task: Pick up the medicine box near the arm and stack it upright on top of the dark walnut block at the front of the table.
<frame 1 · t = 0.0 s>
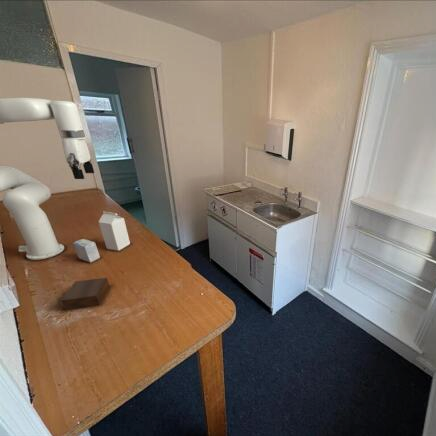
hand: (85, 175, 101), 37 cm above the table, tool pointing down, fingers open, 9 cm apart
walnut block: (88, 297, 87), on the table
milk carton: (118, 246, 118), on the table
medicine box: (89, 258, 108), on the table
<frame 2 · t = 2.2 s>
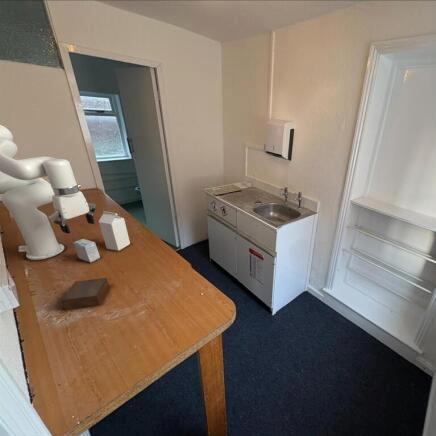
hand: (79, 227, 101), 16 cm above the table, tool pointing down, fingers open, 9 cm apart
nothing on the table moved.
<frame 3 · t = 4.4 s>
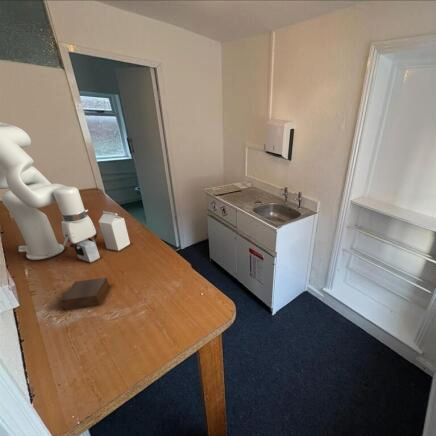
hand: (87, 251, 106), 4 cm above the table, tool pointing down, fingers closed on medicine box, 4 cm apart
medicine box: (89, 258, 108), on the table, touching gripper
everything else where it was.
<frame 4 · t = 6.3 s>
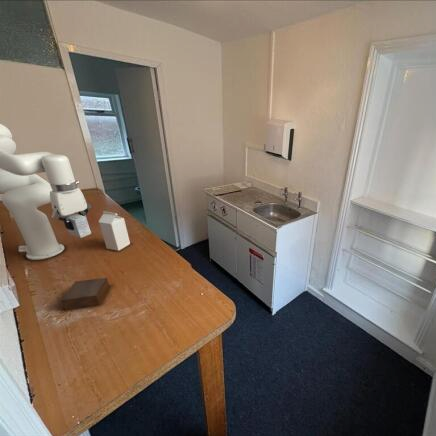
hand: (77, 226, 101), 17 cm above the table, tool pointing down, fingers closed on medicine box, 4 cm apart
medicine box: (80, 234, 102), point 13 cm above the table, touching gripper
everything else where it was.
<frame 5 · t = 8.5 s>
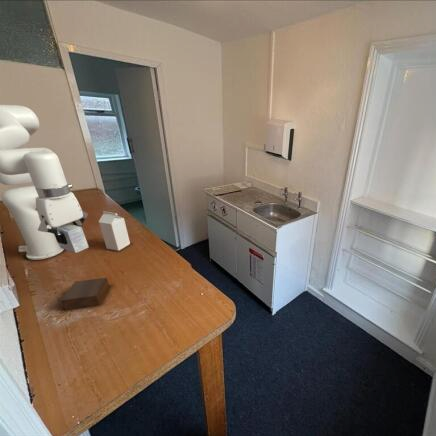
hand: (71, 239, 83), 22 cm above the table, tool pointing down, fingers closed on medicine box, 4 cm apart
medicine box: (75, 248, 84), point 18 cm above the table, touching gripper
everything else where it was.
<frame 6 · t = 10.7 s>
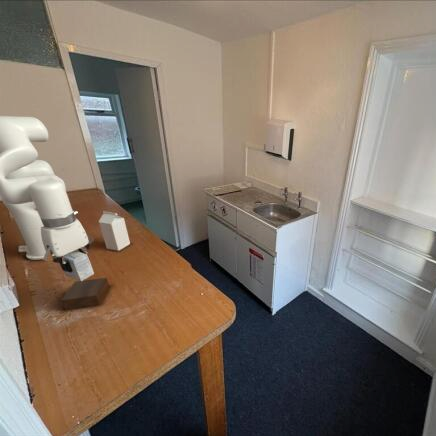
hand: (77, 266, 81), 14 cm above the table, tool pointing down, fingers closed on medicine box, 4 cm apart
medicine box: (80, 275, 82), point 10 cm above the table, touching gripper
everything else where it was.
when the fingers open (8 cm above the table, at t = 12.5 s): medicine box stays where it is, resting on walnut block.
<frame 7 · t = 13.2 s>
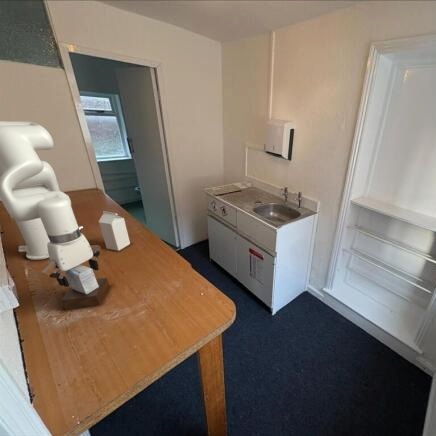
hand: (81, 277, 83), 10 cm above the table, tool pointing down, fingers open, 9 cm apart
medicine box: (85, 288, 85), point 4 cm above the table, touching walnut block
everything else where it was.
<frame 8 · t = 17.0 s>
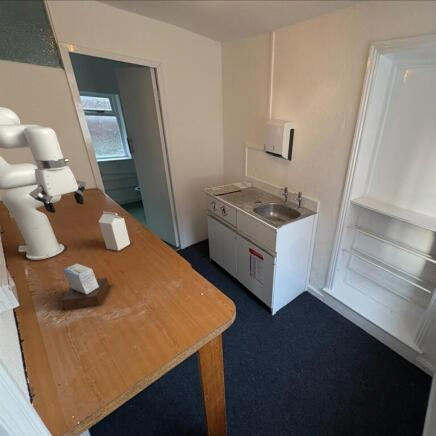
hand: (66, 207, 90), 28 cm above the table, tool pointing down, fingers open, 9 cm apart
nothing on the table moved.
at the end: medicine box 0.0 cm off-centre on the walnut block, point 4.3 cm above the walnut block's base; medicine box tilted 0°; the gripper is holding nothing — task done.
